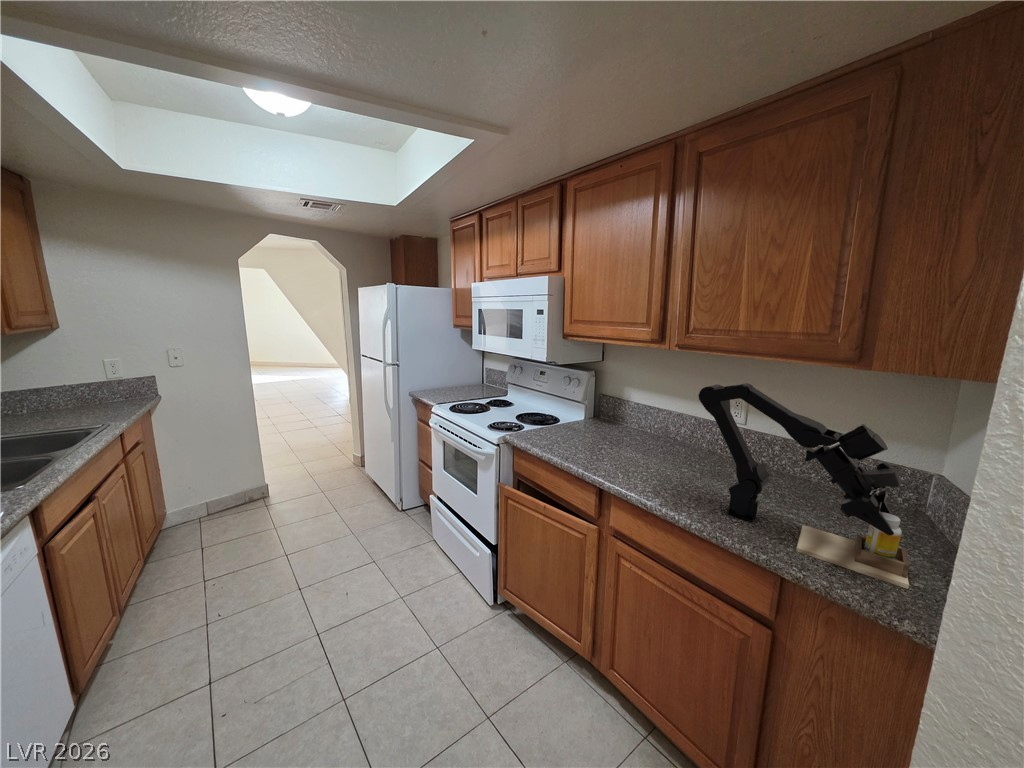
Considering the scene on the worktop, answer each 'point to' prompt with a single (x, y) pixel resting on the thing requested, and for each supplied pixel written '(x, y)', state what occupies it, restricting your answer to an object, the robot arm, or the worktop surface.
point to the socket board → (854, 555)
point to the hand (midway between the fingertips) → (893, 530)
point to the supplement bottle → (884, 538)
